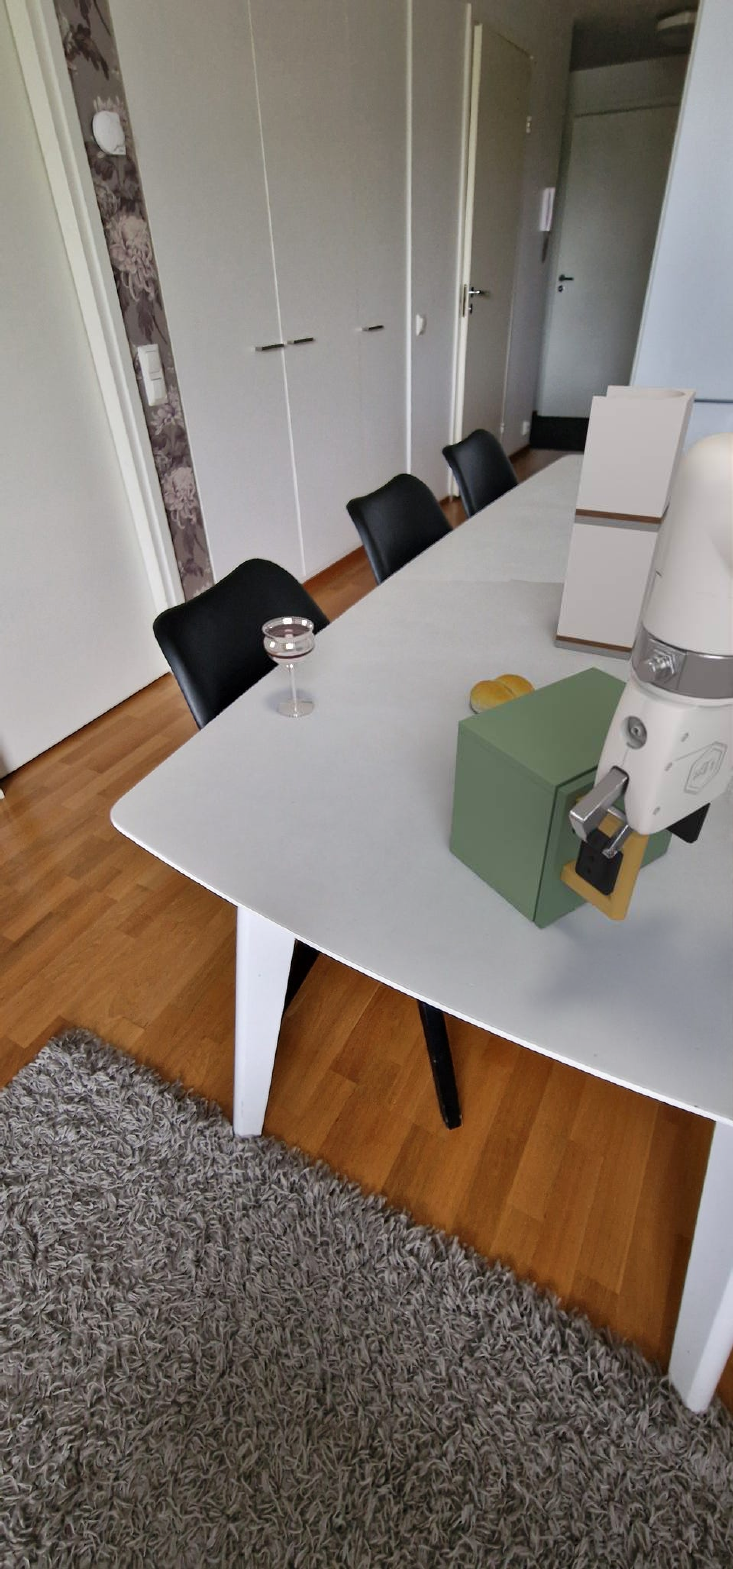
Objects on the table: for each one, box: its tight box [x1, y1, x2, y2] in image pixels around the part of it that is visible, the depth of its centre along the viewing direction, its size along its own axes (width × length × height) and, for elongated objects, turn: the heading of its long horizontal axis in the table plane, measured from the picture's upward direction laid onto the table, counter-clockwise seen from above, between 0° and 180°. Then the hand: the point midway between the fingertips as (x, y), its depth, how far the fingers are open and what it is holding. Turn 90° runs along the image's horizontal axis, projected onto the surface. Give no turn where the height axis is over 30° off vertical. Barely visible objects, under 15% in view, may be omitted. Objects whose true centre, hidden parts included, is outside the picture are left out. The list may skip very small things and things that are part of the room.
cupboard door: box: [533, 770, 674, 930], centre depth 62 cm, size 7×18×16 cm, turn 124°
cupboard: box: [449, 666, 627, 923], centre depth 69 cm, size 12×18×16 cm, turn 124°
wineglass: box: [261, 616, 316, 718], centre depth 94 cm, size 7×7×12 cm
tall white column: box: [554, 384, 697, 661], centre depth 102 cm, size 11×11×35 cm
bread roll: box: [469, 673, 536, 714], centre depth 96 cm, size 8×9×4 cm
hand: (636, 857), depth 54 cm, fingers open, 9 cm apart
